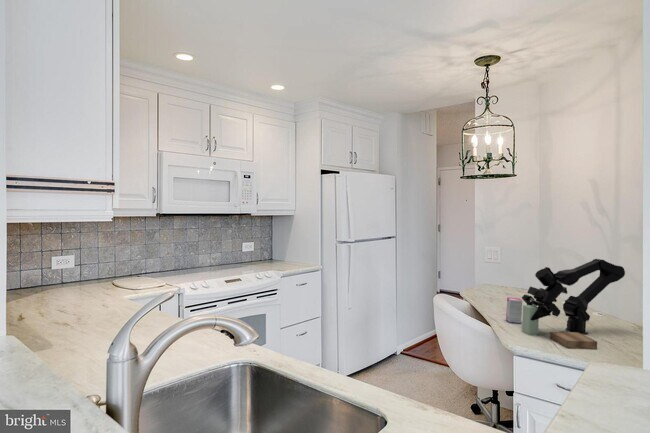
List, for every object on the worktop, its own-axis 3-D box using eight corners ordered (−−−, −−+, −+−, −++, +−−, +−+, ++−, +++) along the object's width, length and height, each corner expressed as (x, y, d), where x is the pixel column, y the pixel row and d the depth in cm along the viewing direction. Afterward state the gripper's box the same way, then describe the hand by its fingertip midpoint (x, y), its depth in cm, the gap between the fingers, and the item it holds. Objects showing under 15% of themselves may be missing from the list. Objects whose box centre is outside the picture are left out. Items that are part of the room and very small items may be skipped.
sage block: (531, 331, 182) (532, 305, 182) (538, 334, 178) (539, 307, 178) (522, 331, 181) (523, 305, 181) (528, 335, 177) (529, 307, 177)
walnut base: (578, 339, 173) (578, 332, 172) (597, 349, 161) (597, 341, 160) (550, 338, 173) (550, 331, 173) (566, 348, 161) (567, 340, 161)
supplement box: (521, 324, 194) (522, 300, 194) (508, 323, 195) (509, 299, 195) (518, 320, 200) (519, 297, 200) (505, 320, 201) (506, 297, 201)
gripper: (526, 277, 189) (503, 301, 187) (555, 284, 171) (530, 311, 169) (540, 293, 191) (518, 317, 189) (571, 303, 172) (546, 329, 170)
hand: (527, 318), depth 179 cm, fingers closed on sage block, 4 cm apart
